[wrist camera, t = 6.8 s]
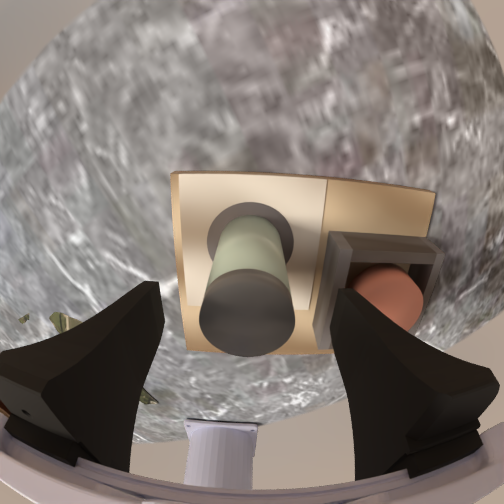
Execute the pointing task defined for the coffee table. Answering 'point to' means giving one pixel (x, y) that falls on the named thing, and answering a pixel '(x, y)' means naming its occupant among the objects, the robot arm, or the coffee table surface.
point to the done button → (390, 292)
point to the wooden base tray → (302, 240)
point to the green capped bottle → (248, 291)
